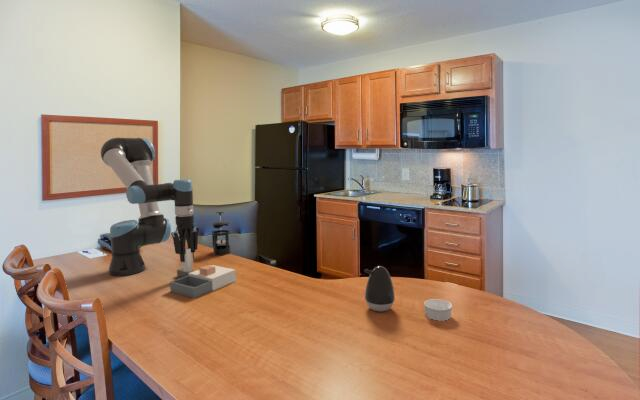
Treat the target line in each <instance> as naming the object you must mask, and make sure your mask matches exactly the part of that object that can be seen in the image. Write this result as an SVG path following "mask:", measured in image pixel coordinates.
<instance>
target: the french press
mask: <svg viewBox="0 0 640 400" xmlns="http://www.w3.org/2000/svg"><path fill="white" fill-rule="evenodd" d="M216 214H219V221H214V222H212V226H213V227H212V228H213V229H217V230H213V231H211V235H212V236H211V237H212V239H211V240H212V247H213V252H212V254H213V255H214V254H215V256H225V255H226V256H227V255H229V254H231V253H232V251H231V246H230V244H229V243H230V240H229V235H230V230H228V229H222V227H224V226H227V227H229V224H230V222H229V221H222V219H221V218H222V217H221V216H222V214H224V211H217V212H216ZM219 236H220V239H218V237H219ZM222 236H224V237H225V239H222Z"/></svg>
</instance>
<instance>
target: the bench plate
mask: <svg viewBox="0 0 640 400" xmlns="http://www.w3.org/2000/svg"><path fill="white" fill-rule="evenodd" d="M210 266H214V267H215V271H216V272H215V273H213V274H210V275H203V274H200V271H199V269H197V270H192V271H193V272H191V273H189V276H192V277H196V278H200V279H204V280H208V281H212V291H211V292H213V291H216V290H218V289H220V288H223V287H225V286H228V285H230V284H232V283H235V282H236V281H237V277H236V274H237V273H236V269H234V268H229V267H224V266H218V265H216V264H215V265H213V264H212V265H210Z"/></svg>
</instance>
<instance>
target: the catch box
mask: <svg viewBox="0 0 640 400" xmlns="http://www.w3.org/2000/svg"><path fill="white" fill-rule="evenodd" d="M169 285H170V286H169V287H170V289H169V290H170V293H174V294H178V295H182V296H183V297H188V298H191V299H197V298H199V297H201V296H203V295H206V294H208V293H212V292H213V291H212V281H208V280H204V279H200V278H196V277H192V276H186V277H183V278H181V277H179V278H177V279H175V280H172V281H170V282H169Z"/></svg>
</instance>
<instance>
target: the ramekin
mask: <svg viewBox="0 0 640 400" xmlns="http://www.w3.org/2000/svg"><path fill="white" fill-rule="evenodd" d="M423 305H424V314H425V316H426V318H428V319H429V318H430V319H429V320H431V319H433V320H432V321H435V320H439V321H438V322H446V321H445V320H447V321H448V319H449V320H450V319H451V315H452V309H453V304H452V303H451V302H450V301H448V300H445V299H439V298H431V299H426V300H425V301H423Z"/></svg>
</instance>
